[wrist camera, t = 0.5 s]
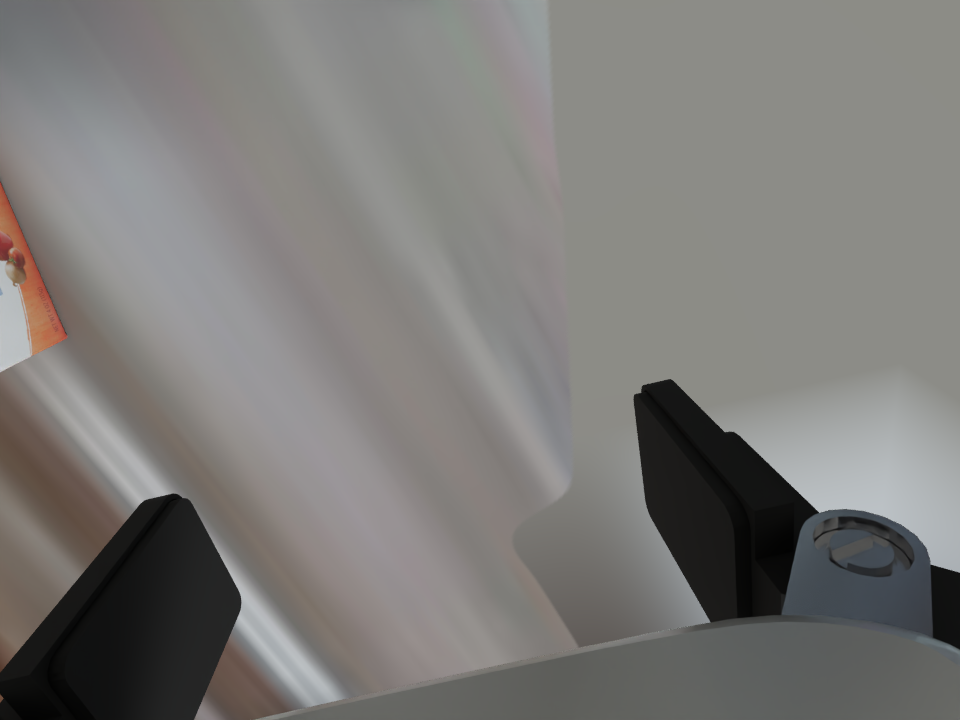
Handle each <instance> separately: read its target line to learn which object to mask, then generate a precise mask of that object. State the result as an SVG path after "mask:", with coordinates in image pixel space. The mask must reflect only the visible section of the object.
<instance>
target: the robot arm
mask: <svg viewBox="0 0 960 720" xmlns="http://www.w3.org/2000/svg"><path fill="white" fill-rule="evenodd" d="M634 408H635V416H636V425H637V433H638V441H639V450H640V458H641V467H642V476H643V484H644V493H645V501H646V505H647V509H648V512H649V514H650V517H651V519H652V520H653V522H654V524H655V526H656V527H657V529H658V531H659V533H660V534H661V536H662V538H663V540H664V541H665V543H666V545H667V546H668V548H669V550H670V552H671V554H672V555H673V557H674V559H675V561H676V562H677V564H678V566H679V568H680V569H681V571H682V573H683V575H684V576H685V578H686V580H687V582H688V583H689V585H690V587H691V589H692V590H693V592H694V594H695V596H696V597H697V599H698V601H699V603H700V604H701V606H702V608H703V610H704V611H705V613H706V615H707V617H708V618H709V620H710V622H711V623H706V624H700V625H694V626H688V627H681V628H676V629H670V630H665V631H659V632H654V633H648V634H644V635H639V636H635V637H630V638H625V639H621V640H616V641H611V642H606V643H601V644H596V645H592V646H586V647H581V648H577V649H572V650H567V651H563V652H558V653H554V654H549V655H544V656H540V657H535V658H530V659H526V660H521V661H517V662H512V663H507V664H503V665H498V666H494V667H489V668H484V669H480V670H475V671H471V672H466V673H461V674H457V675H452V676H448V677H443V678H438V679H434V680H429V681H425V682H420V683H416V684H411V685H407V686H402V687H398V688H393V689H389V690H384V691H380V692H375V693H371V694H366V695H362V696H357V697H353V698H348V699H344V700H339V701H335V702H330V703H326V704H321V705H317V706H313V707H308V708H304V709H299V710H295V711H290V712H286V713H281V714H277V715H272V716H268V717H263V718H259V719H255V720H960V573H958V572H955V571H952V570H948V569H944V568H941V567H937V566H934V565H930V558H929V555H928V552H927V549H926V547H925V546H924V544H923V543H922V542H921V541H920V540H919V538H918V537H917V536H916V535H915V534H913V533H912V532H910V531H909V530H908V529H906V528H905V527H904V526H902V525H901V524H898V523H896V522H894V521H892V520H890V519H888V518H885V517H883V516H880V515H876V514H873V513H869V512H865V511H858V510H848V509H840V510H828V511H825V512H821V513H819V512H818V511H817V510H816V509H815V508H814V507H813V506H812V505H811V504H810V503H808V501H807V500H805V499H804V498H803V497H802V496H801V495H800V494H799V493H798V492H797V491H796V490H795V489H794V488H793V487H792V486H791V485H790V484H789V483H788V482H787V481H786V480H785V479H784V478H783V477H782V476H781V475H780V474H779V473H777V472H776V471H775V470H774V469H773V468H772V467H771V466H770V465H769V464H768V463H767V462H766V461H765V460H764V459H763V458H762V457H761V456H760V455H759V454H758V453H757V452H756V451H755V450H754V449H753V448H751V447H750V446H749V445H748V444H747V443H746V442H745V441H744V440H743V439H742V438H741V437H740V436H739V435H737V434H736V433H734V432H724V431H723V430H722V429H721V428H720V427H719V426H718V425H717V424H716V423H715V422H714V421H713V420H712V419H711V418H710V417H709V416H708V415H707V414H706V413H705V412H704V411H703V410H702V409H701V408H700V407H699V406H698V405H697V404H696V403H695V402H694V401H693V400H692V399H691V398H690V397H689V396H688V395H687V394H686V393H685V392H684V391H683V390H682V389H681V388H680V387H679V386H678V385H677V384H676V383H675V382H674V381H673V380H671V379H668V380H664V381H660V382H655V383H651V384H647V385H643V386H642V389H641V393H639V394H635V395H634ZM240 609H241V596H240V593H239V590H238V589H237V587H236V585H235V583H234V581H233V579H232V577H231V576H230V574H229V572H228V570H227V568H226V566H225V564H224V562H223V561H222V559H221V557H220V555H219V553H218V551H217V549H216V548H215V546H214V544H213V542H212V540H211V538H210V536H209V534H208V533H207V531H206V529H205V527H204V525H203V523H202V521H201V520H200V518H199V516H198V514H197V512H196V510H195V508H194V506H193V505H192V503H191V502H190V501H189V500H188V499H186V498H182V497H181V496H179V495H178V494H169V495H165V496H161V497H156V498H152V499H148V500H145V501H143V502H142V503H141V504H140V505H139V506H138V508H137V509H136V510H135V511H134V512H133V514H132V515H131V516H130V517H129V518H128V520H127V521H126V522H125V523H124V524H123V526H122V527H121V528H120V529H119V530H118V532H117V533H116V534H115V535H114V536H113V538H112V539H111V540H110V541H109V542H108V544H107V545H106V546H105V547H104V549H103V550H102V551H101V552H100V553H99V555H98V556H97V557H96V558H95V559H94V561H93V562H92V563H91V564H90V565H89V567H88V568H87V569H86V570H85V571H84V573H83V574H82V575H81V576H80V577H79V579H78V580H77V581H76V582H75V583H74V585H73V586H72V587H71V588H70V589H69V591H68V592H67V593H66V594H65V595H64V597H63V598H62V599H61V600H60V601H59V603H58V604H57V605H56V606H55V607H54V609H53V610H52V611H51V612H50V614H49V615H48V616H47V617H46V618H45V620H44V621H43V622H42V623H41V624H40V626H39V627H38V628H37V629H36V630H35V632H34V633H33V634H32V635H31V636H30V638H29V639H28V640H27V641H26V642H25V644H24V645H23V646H22V647H21V648H20V650H19V651H18V652H17V653H16V654H15V656H14V657H13V658H12V659H11V660H10V662H9V663H8V664H7V665H6V666H5V668H4V669H3V670H2V671H1V673H0V694H1V696H2V697H3V698H4V699H3V700H2V701H1V703H0V720H194V718H195V716H196V714H197V711H198V709H199V706H200V704H201V702H202V699H203V697H204V695H205V692H206V690H207V688H208V685H209V683H210V681H211V678H212V676H213V674H214V671H215V669H216V667H217V664H218V662H219V659H220V657H221V655H222V652H223V650H224V648H225V645H226V643H227V641H228V638H229V636H230V634H231V631H232V629H233V627H234V624H235V622H236V620H237V617H238V615H239V612H240Z"/></svg>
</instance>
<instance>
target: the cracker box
mask: <svg viewBox="0 0 960 720" xmlns="http://www.w3.org/2000/svg"><path fill="white" fill-rule="evenodd" d="M66 338H67V335H66V333H65V331H64V329H63V327H62V325H61V322H60V320H59V318H58V315H57V313H56V311H55V308H54V306H53V304H52V301H51V299H50V296H49V294H48V292H47V290H46V288H45V285H44V283H43V281H42V278H41V276H40V273H39V271H38V269H37V267H36V264H35V262H34V259H33V257H32V255H31V253H30V250H29V247H28V245H27V243H26V241H25V239H24V236H23V233H22V231H21V229H20V227H19V224H18V222H17V220H16V218H15V215H14V213H13V210H12V208H11V206H10V203H9V201H8V199H7V196H6V194H5V192H4V189H3V187H2V185H1V182H0V372H1V371H3V370H5V369H7V368H9V367H11V366H13V365H15V364H17V363H19V362H21V361H23V360H25V359H27V358H29V357H31V356H32V355H34V354H37V353H39V352H41V351H43V350H45V349H47V348H49V347H50V346H52V345H54V344H56V343H58V342H60V341H62V340H64V339H66Z"/></svg>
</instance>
